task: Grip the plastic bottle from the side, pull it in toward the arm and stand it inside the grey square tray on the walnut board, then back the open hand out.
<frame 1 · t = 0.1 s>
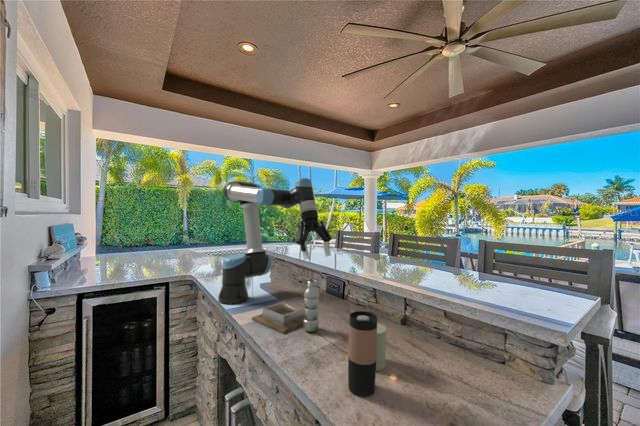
hand: (317, 257, 122), 28 cm above the worktop, tool tilted 20°, fingers open, 13 cm apart
travel mug: (361, 389, 76), on the worktop
plastic bottle: (310, 330, 112), on the worktop
can: (370, 363, 89), on the worktop
grey square tray: (283, 312, 122), on the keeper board, point 3 cm above the worktop
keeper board: (284, 319, 122), on the worktop
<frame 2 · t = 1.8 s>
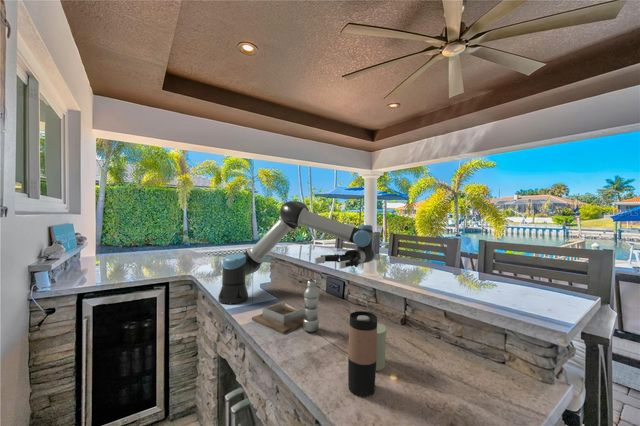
hand: (327, 263, 119), 26 cm above the worktop, tool horizontal, fingers open, 13 cm apart
nothing on the worktop moved.
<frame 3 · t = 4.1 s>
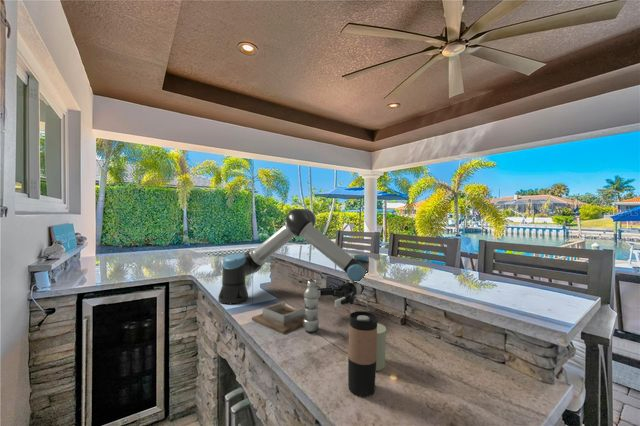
hand: (322, 300, 116), 11 cm above the worktop, tool horizontal, fingers open, 13 cm apart
nothing on the worktop moved.
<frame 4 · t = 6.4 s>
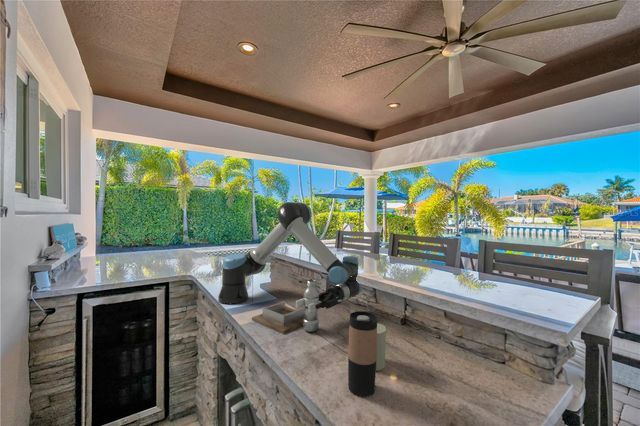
hand: (302, 306, 108), 11 cm above the worktop, tool horizontal, fingers closed on plastic bottle, 6 cm apart
plastic bottle: (310, 330, 112), on the worktop, touching gripper
everything else where it was.
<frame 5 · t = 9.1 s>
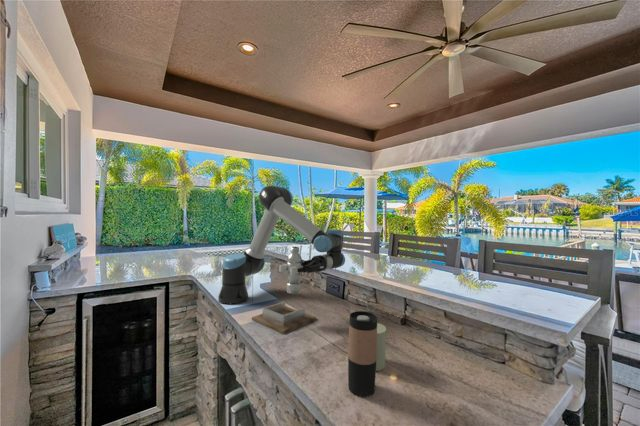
hand: (285, 269, 115), 24 cm above the worktop, tool horizontal, fingers closed on plastic bottle, 6 cm apart
plastic bottle: (293, 294, 119), point 12 cm above the worktop, touching gripper
everything else where it was.
when the fingers open (14 cm above the worktop, at t = 11.7 s): plastic bottle drops 1 cm, resting on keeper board.
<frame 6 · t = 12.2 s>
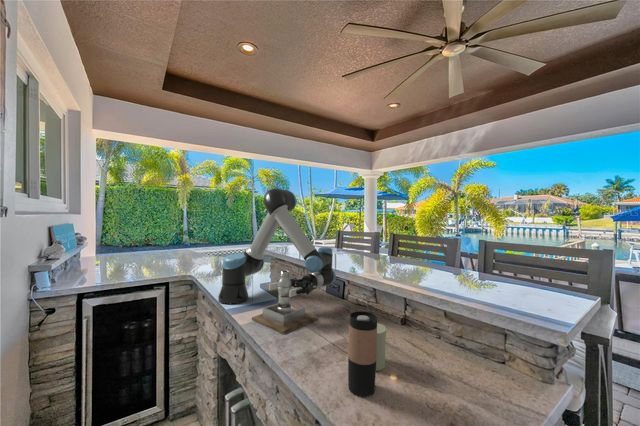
hand: (279, 290, 119), 14 cm above the worktop, tool horizontal, fingers open, 12 cm apart
plastic bottle: (284, 317, 122), point 1 cm above the worktop, touching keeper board
everything else where it was.
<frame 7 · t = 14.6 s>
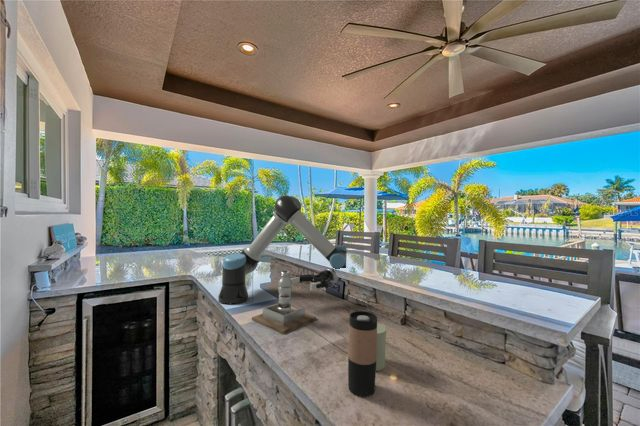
hand: (299, 284, 129), 14 cm above the worktop, tool horizontal, fingers open, 13 cm apart
nothing on the worktop moved.
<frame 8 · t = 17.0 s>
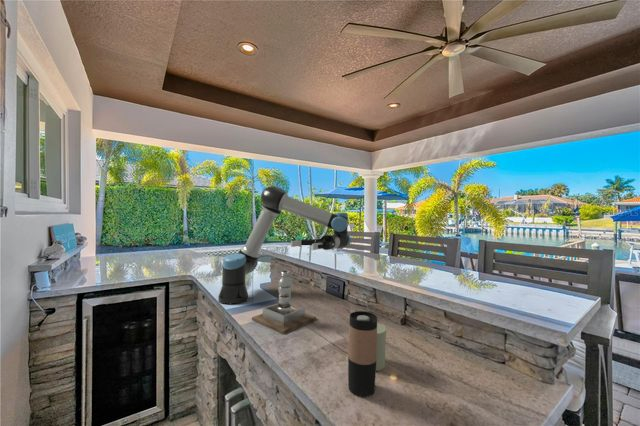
hand: (301, 245, 129), 32 cm above the worktop, tool horizontal, fingers open, 13 cm apart
nothing on the worktop moved.
at the end: plastic bottle inside the target area on the grey square tray (0.1 cm from its centre), point 1.0 cm above the grey square tray's base; plastic bottle tilted 0°; the gripper is holding nothing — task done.
